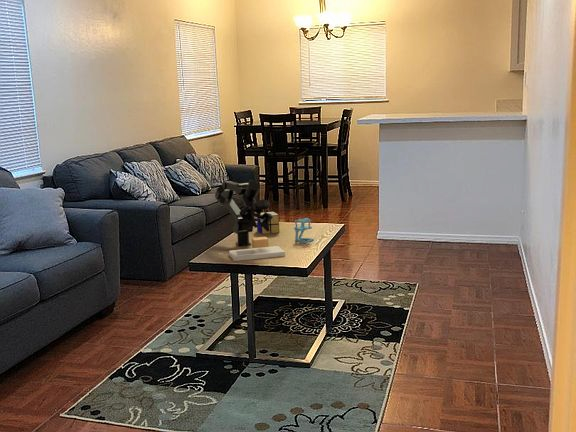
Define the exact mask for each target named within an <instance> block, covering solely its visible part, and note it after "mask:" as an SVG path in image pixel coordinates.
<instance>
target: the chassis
mask: <svg viewBox="0 0 576 432" xmlns="http://www.w3.org/2000/svg"><path fill="white" fill-rule="evenodd" d="M228 255H229V256H230V258H231V259H232V260H233V261H234V262H237V261H245V260H246V261H249V260H258V259H259V260H260V259H268V258H277V257H278V258H279V257H285V256H286V251H285V250H284V249H282V248H281V247H280V246H278V245H274V246H269V247H262V248H252V247H251V248H243V249H235V250H234V249H233V250H228Z"/></svg>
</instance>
